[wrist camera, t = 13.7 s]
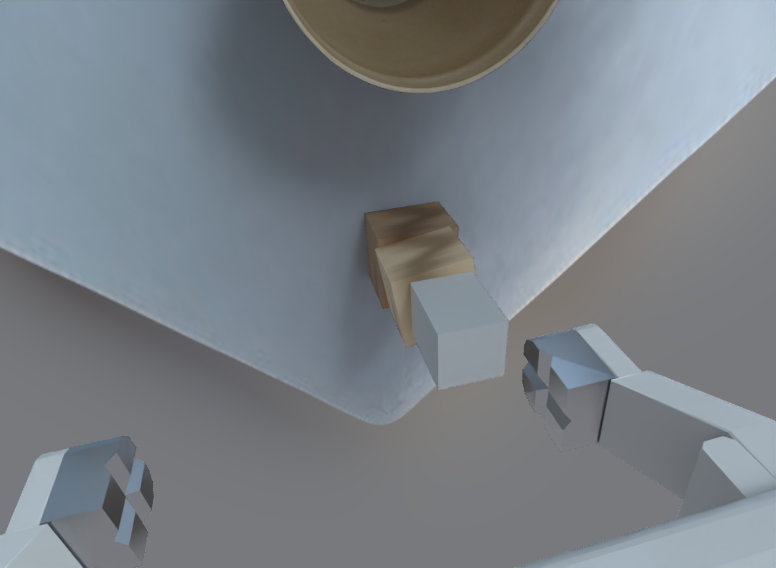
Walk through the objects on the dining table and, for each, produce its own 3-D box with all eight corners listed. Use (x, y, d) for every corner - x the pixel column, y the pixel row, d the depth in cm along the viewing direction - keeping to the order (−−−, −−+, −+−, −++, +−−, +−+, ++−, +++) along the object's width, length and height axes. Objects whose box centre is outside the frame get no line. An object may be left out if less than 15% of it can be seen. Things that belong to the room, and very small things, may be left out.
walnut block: (438, 201, 44) (458, 226, 40) (438, 265, 48) (457, 294, 44) (364, 212, 43) (377, 239, 39) (370, 277, 47) (382, 308, 43)
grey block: (472, 271, 36) (508, 320, 32) (470, 322, 39) (504, 375, 34) (410, 282, 36) (438, 335, 31) (412, 333, 38) (438, 390, 33)
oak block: (449, 226, 40) (473, 257, 36) (458, 288, 43) (481, 323, 39) (374, 248, 39) (390, 282, 35) (390, 310, 43) (406, 347, 39)
